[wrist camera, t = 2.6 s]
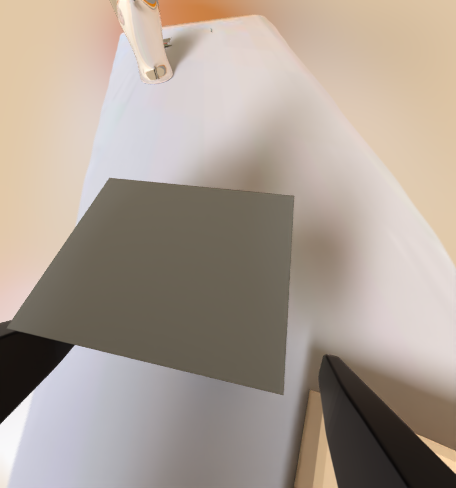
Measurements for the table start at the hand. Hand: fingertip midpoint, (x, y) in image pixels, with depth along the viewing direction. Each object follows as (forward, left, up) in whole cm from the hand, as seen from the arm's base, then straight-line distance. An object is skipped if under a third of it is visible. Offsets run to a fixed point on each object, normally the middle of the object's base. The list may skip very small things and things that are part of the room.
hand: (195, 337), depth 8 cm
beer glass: (-14, +46, -9) cm, 49 cm away
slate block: (0, +1, -8) cm, 9 cm away
